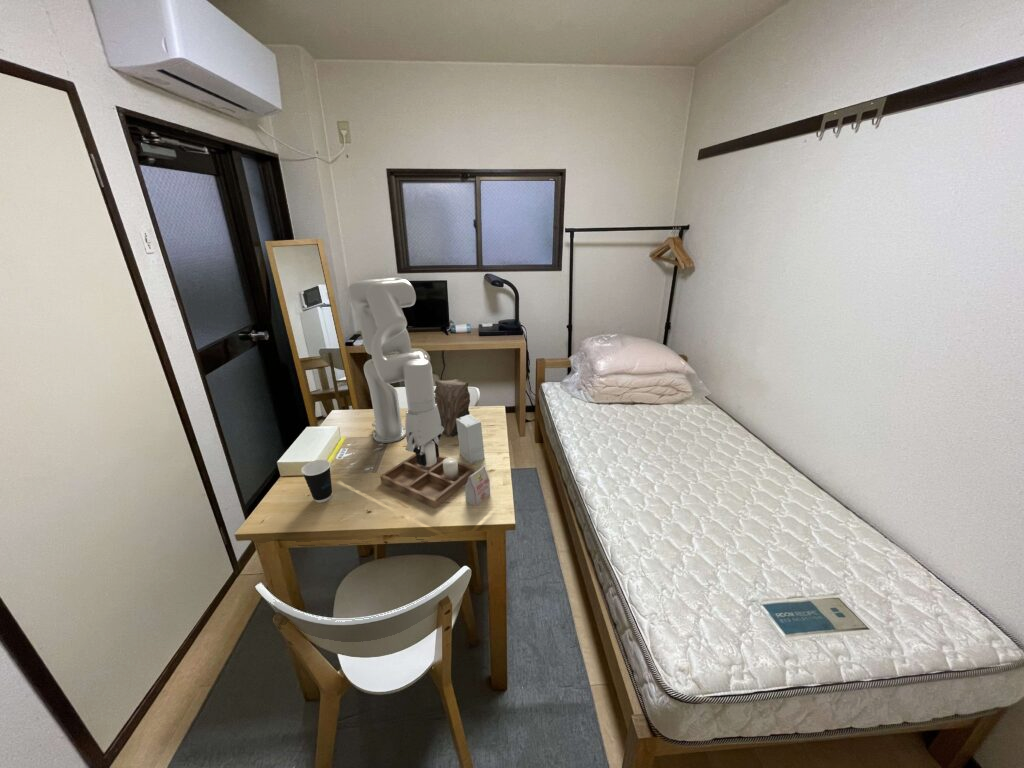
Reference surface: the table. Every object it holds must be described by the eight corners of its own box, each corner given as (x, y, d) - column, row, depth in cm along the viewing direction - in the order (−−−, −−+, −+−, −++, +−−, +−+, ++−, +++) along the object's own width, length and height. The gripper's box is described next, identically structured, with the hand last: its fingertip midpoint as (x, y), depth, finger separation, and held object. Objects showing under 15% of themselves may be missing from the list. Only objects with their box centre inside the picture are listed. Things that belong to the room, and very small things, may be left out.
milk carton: (466, 503, 120) (463, 475, 116) (481, 491, 125) (479, 464, 121) (475, 508, 118) (473, 479, 114) (490, 496, 123) (489, 468, 119)
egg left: (416, 468, 136) (414, 453, 133) (426, 461, 139) (424, 446, 137) (426, 472, 133) (424, 457, 131) (436, 465, 137) (434, 450, 135)
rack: (381, 485, 129) (380, 475, 128) (424, 457, 144) (423, 448, 142) (435, 510, 117) (434, 501, 116) (476, 477, 132) (475, 468, 130)
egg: (417, 463, 119) (415, 445, 116) (428, 456, 122) (426, 438, 120) (428, 468, 116) (426, 450, 114) (439, 460, 120) (438, 442, 118)
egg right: (441, 478, 130) (439, 462, 128) (450, 471, 134) (449, 456, 131) (452, 483, 128) (450, 467, 125) (461, 475, 131) (460, 460, 129)
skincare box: (485, 460, 141) (483, 422, 135) (469, 465, 138) (466, 427, 132) (473, 449, 147) (471, 412, 142) (458, 454, 144) (455, 417, 139)
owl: (433, 427, 164) (428, 381, 156) (460, 418, 171) (457, 373, 163) (447, 439, 154) (442, 391, 147) (476, 430, 161) (473, 383, 153)
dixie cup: (311, 491, 127) (304, 461, 122) (338, 487, 128) (332, 457, 124) (306, 508, 119) (298, 476, 115) (335, 503, 121) (328, 472, 117)
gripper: (432, 390, 121) (438, 444, 128) (388, 412, 108) (397, 470, 115) (452, 395, 117) (457, 450, 124) (408, 418, 104) (416, 478, 111)
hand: (428, 459), depth 119 cm, fingers closed on egg, 4 cm apart
